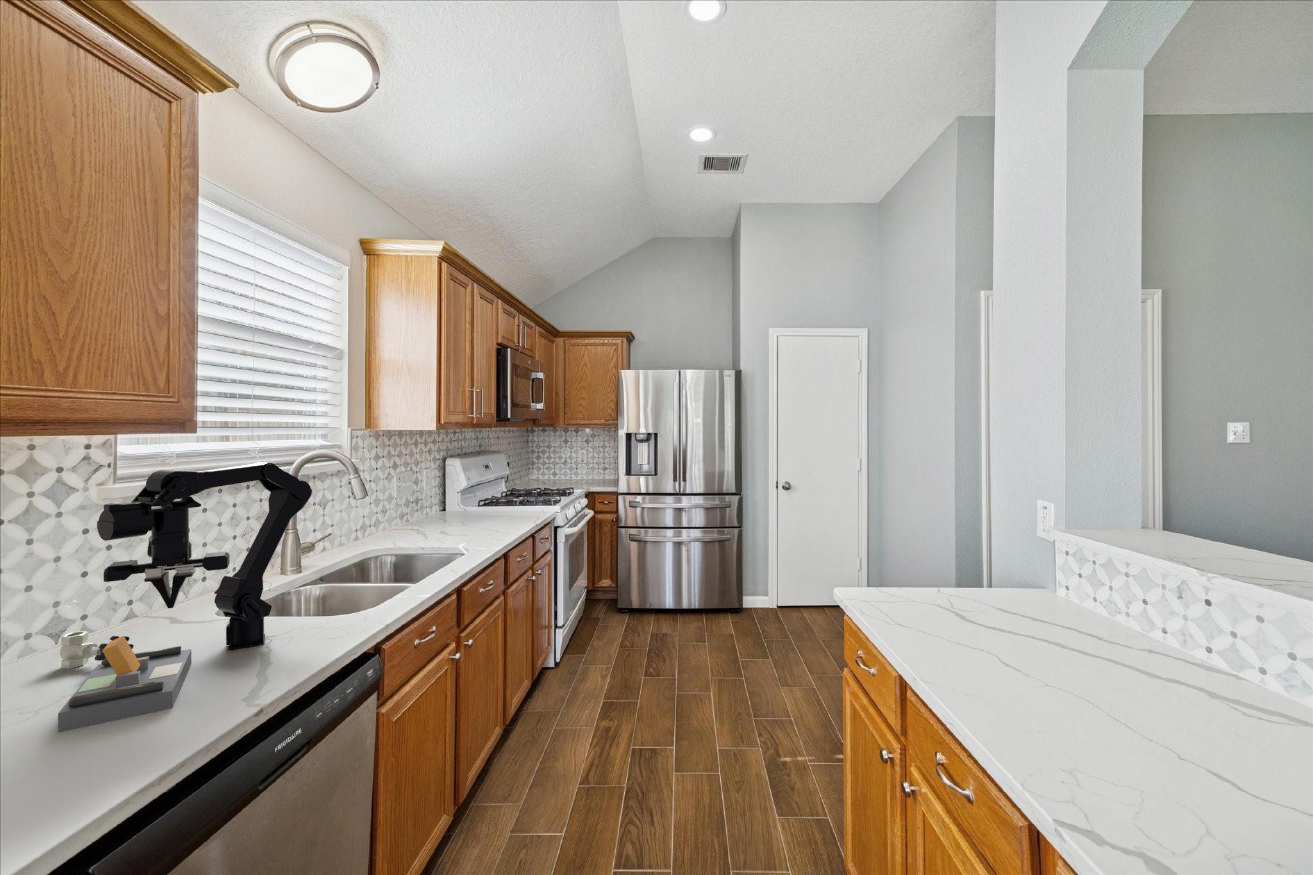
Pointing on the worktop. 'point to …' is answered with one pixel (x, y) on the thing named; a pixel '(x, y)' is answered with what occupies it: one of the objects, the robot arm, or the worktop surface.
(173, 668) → the panel
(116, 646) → the lever
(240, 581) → the robot arm
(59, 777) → the worktop surface
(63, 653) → the valve
